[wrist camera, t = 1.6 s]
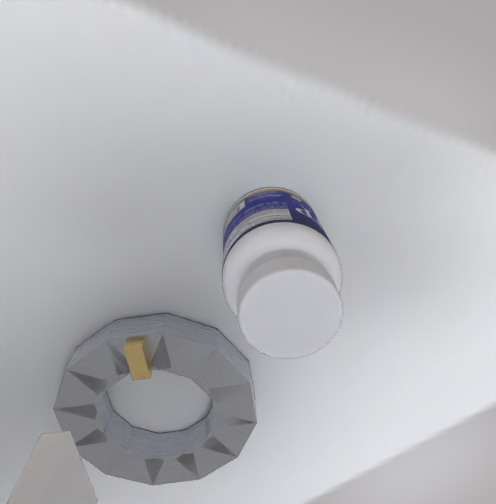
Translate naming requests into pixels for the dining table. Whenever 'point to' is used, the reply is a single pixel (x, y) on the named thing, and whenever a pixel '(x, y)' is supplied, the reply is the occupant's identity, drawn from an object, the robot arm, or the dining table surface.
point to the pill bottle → (281, 274)
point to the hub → (140, 366)
